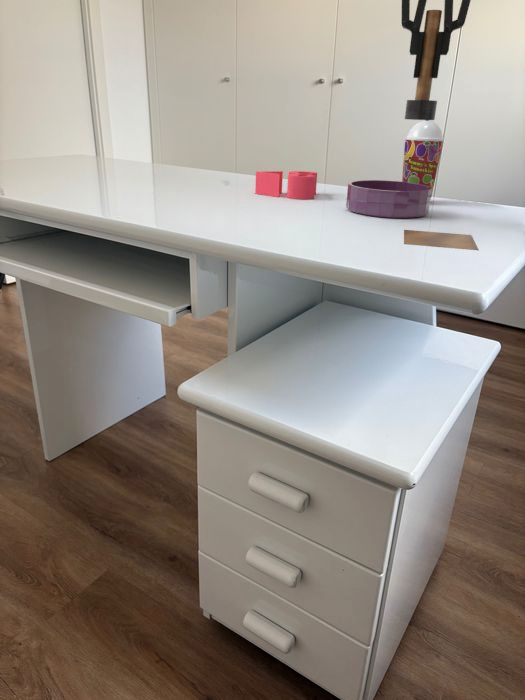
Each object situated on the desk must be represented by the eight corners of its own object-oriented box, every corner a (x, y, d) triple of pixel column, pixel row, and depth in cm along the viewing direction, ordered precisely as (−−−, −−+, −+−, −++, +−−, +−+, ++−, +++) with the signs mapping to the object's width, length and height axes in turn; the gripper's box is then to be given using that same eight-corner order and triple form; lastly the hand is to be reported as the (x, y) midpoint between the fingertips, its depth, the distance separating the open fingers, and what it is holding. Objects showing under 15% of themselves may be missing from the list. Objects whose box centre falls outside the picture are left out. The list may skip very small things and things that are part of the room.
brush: (434, 119, 94) (449, 13, 87) (434, 120, 90) (451, 8, 83) (404, 118, 95) (418, 13, 88) (404, 119, 91) (418, 8, 84)
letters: (251, 196, 123) (252, 173, 121) (259, 190, 132) (259, 169, 130) (313, 200, 121) (314, 176, 119) (316, 193, 130) (317, 172, 128)
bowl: (426, 209, 114) (430, 183, 112) (429, 224, 100) (433, 193, 97) (349, 204, 117) (352, 178, 115) (342, 217, 103) (344, 188, 101)
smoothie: (402, 204, 119) (415, 106, 111) (392, 198, 127) (404, 105, 118) (439, 205, 120) (455, 107, 111) (427, 199, 127) (441, 107, 119)
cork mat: (470, 237, 90) (471, 234, 90) (478, 253, 80) (479, 250, 80) (403, 232, 92) (404, 229, 92) (403, 247, 83) (403, 243, 82)
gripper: (395, -105, 78) (376, 75, 88) (508, -112, 75) (476, 77, 85) (397, -88, 85) (379, 78, 95) (500, -94, 81) (471, 79, 91)
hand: (425, 77), depth 90 cm, fingers closed on brush, 2 cm apart
